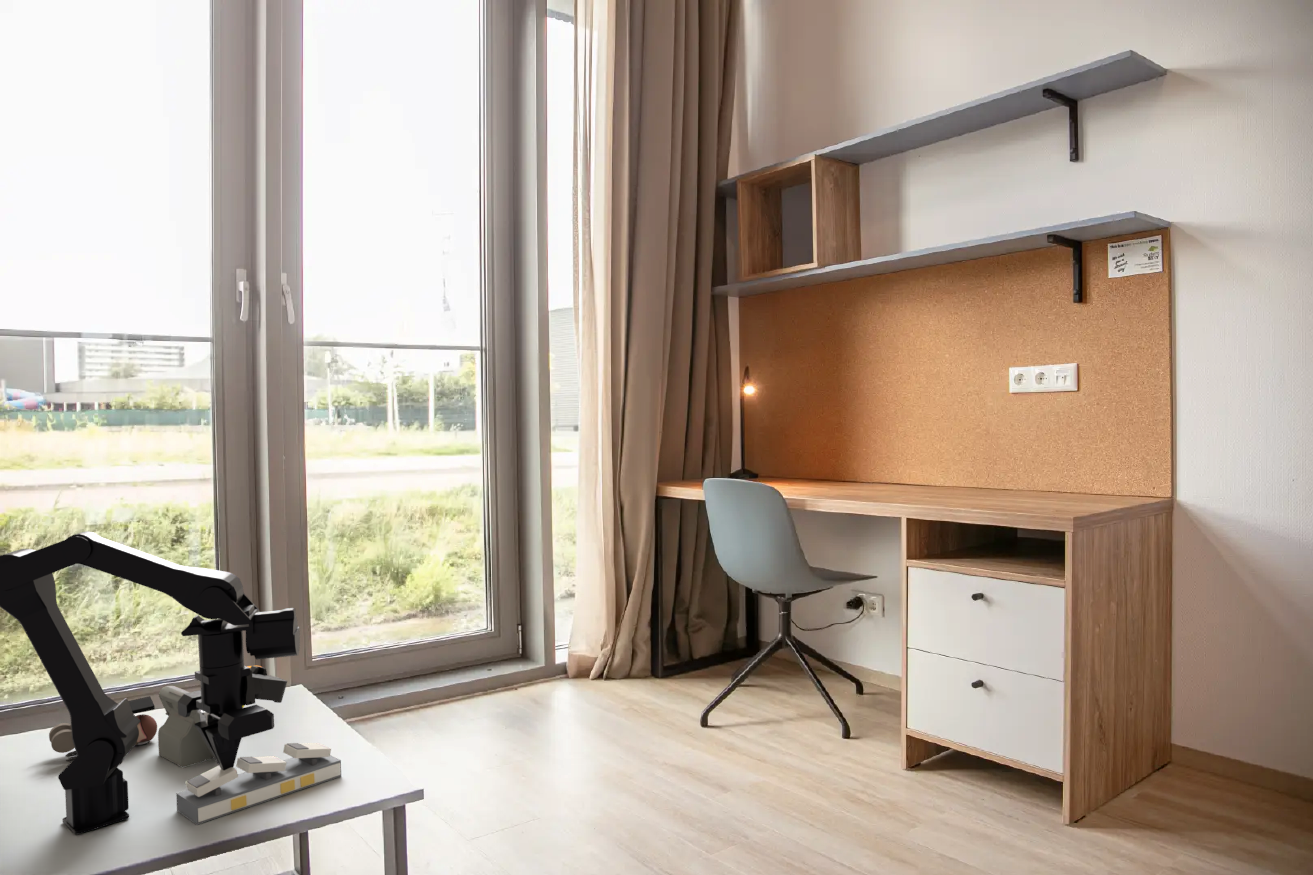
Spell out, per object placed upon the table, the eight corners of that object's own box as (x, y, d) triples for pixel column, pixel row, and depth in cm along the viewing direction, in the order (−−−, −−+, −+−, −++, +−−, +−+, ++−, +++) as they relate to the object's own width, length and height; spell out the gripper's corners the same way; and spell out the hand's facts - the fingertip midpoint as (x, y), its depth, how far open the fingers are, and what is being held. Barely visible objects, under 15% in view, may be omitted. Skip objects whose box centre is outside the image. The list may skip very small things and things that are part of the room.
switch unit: (198, 825, 122) (197, 800, 122) (177, 810, 127) (176, 786, 127) (342, 776, 137) (342, 754, 137) (318, 765, 142) (318, 743, 142)
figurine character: (56, 776, 145) (162, 743, 154) (48, 730, 144) (154, 700, 153) (54, 764, 150) (156, 733, 159) (45, 720, 150) (149, 691, 159)
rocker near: (198, 796, 124) (196, 787, 124) (187, 789, 127) (184, 780, 126) (238, 776, 128) (235, 768, 128) (226, 770, 130) (224, 761, 130)
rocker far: (295, 758, 134) (297, 748, 134) (283, 752, 137) (284, 742, 137) (329, 756, 138) (331, 747, 138) (316, 750, 141) (318, 741, 141)
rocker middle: (248, 772, 129) (250, 763, 129) (236, 766, 131) (238, 756, 132) (284, 770, 133) (286, 761, 133) (272, 764, 135) (274, 754, 136)
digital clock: (235, 761, 145) (233, 695, 145) (173, 776, 140) (170, 708, 140) (211, 735, 158) (209, 675, 158) (153, 748, 153) (150, 685, 152)
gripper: (307, 660, 128) (313, 769, 128) (250, 641, 140) (255, 740, 141) (227, 679, 120) (233, 795, 120) (173, 657, 132) (179, 762, 133)
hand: (227, 771), depth 129 cm, fingers closed, pressing on rocker near
